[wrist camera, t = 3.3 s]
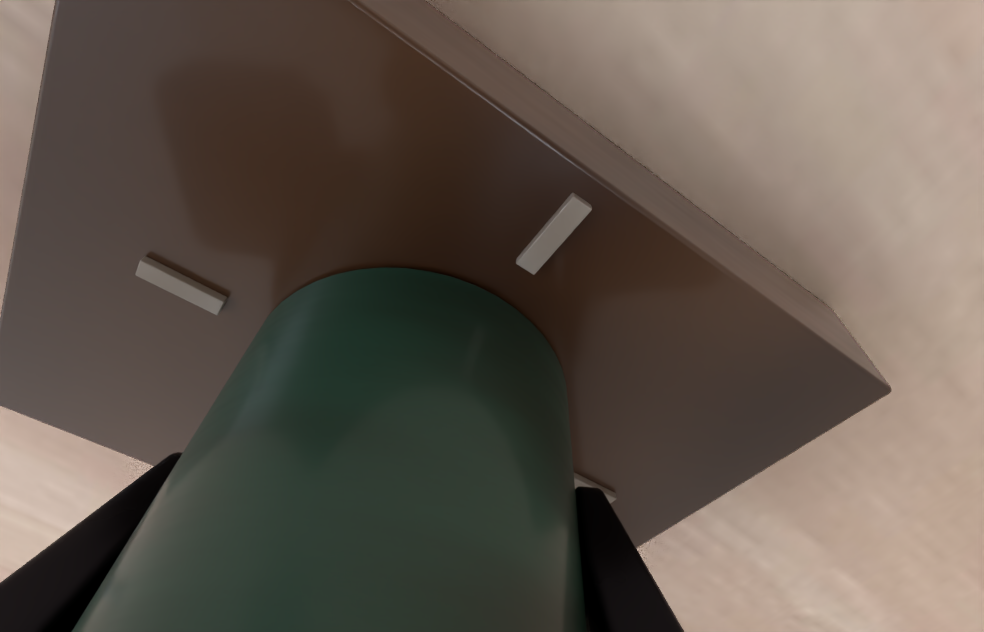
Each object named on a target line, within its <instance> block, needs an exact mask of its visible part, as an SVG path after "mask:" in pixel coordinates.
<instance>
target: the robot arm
mask: <svg viewBox="0 0 984 632" xmlns="http://www.w3.org/2000/svg"><path fill="white" fill-rule="evenodd" d="M182 453H183V452H176V453H173V454H171V455H169V456H167V457H166V458H165V459H163V460H162V461H161V462H159V463H158V464H157V465H155V466H154V467H153V468H151V469H150V470H149V471H147V472H146V473H145V474H143V475H142V476H141V477H139V478H138V479H137V480H136V481H134V482H133V483H132V484H130V485H129V486H128V487H126V488H125V489H124V490H122V491H121V492H120V493H118V494H117V495H116V496H114V497H113V498H112V499H110V500H109V501H108V502H106V503H105V504H104V505H103V506H101V507H100V508H99V509H97V510H96V511H95V512H93V513H92V514H91V515H89V516H88V517H87V518H85V519H84V520H83V521H81V522H80V523H79V524H77V525H76V526H75V527H73V528H72V529H71V530H69V531H68V532H67V533H66V534H64V535H63V536H62V537H60V538H59V539H58V540H56V541H55V542H54V543H52V544H51V545H50V546H48V547H47V548H46V549H44V550H43V551H42V552H40V553H39V554H38V555H36V556H35V557H34V558H33V559H31V560H30V561H29V562H27V563H26V564H25V565H23V566H22V567H21V568H19V569H18V570H17V571H15V572H14V573H13V574H11V575H10V576H9V577H7V578H6V579H5V580H3V581H2V582H1V583H0V632H72V630H73V629H74V627H75V625H76V624H77V622H78V620H79V619H80V617H81V616H82V614H83V612H84V611H85V609H86V608H87V606H88V604H89V603H90V601H91V600H92V598H93V596H94V595H95V593H96V592H97V590H98V588H99V587H100V585H101V583H102V582H103V580H104V579H105V577H106V575H107V574H108V572H109V571H110V569H111V567H112V566H113V564H114V563H115V561H116V559H117V558H118V556H119V555H120V553H121V551H122V550H123V548H124V546H125V545H126V543H127V542H128V540H129V538H130V537H131V535H132V534H133V532H134V530H135V529H136V527H137V526H138V524H139V522H140V521H141V519H142V518H143V516H144V514H145V513H146V511H147V509H148V508H149V506H150V505H151V503H152V501H153V500H154V498H155V497H156V495H157V493H158V492H159V490H160V489H161V487H162V485H163V484H164V482H165V481H166V479H167V477H168V476H169V474H170V472H171V471H172V469H173V468H174V466H175V464H176V463H177V461H178V460H179V458H180V456H181V455H182ZM575 495H576V507H577V519H578V531H579V543H580V555H581V567H582V579H583V591H584V603H585V615H586V627H587V632H684V630H683V629H682V627H681V625H680V624H679V622H678V620H677V618H676V617H675V615H674V613H673V611H672V610H671V608H670V606H669V605H668V603H667V601H666V599H665V598H664V596H663V594H662V592H661V591H660V589H659V587H658V585H657V584H656V582H655V580H654V579H653V577H652V575H651V573H650V572H649V570H648V568H647V566H646V565H645V563H644V561H643V560H642V558H641V556H640V554H639V553H638V551H637V549H636V547H635V546H634V544H633V542H632V541H631V539H630V537H629V535H628V534H627V532H626V530H625V528H624V527H623V525H622V523H621V521H620V520H619V518H618V516H617V515H616V513H615V511H614V509H613V508H612V506H611V504H610V502H609V501H608V499H607V497H606V496H605V494H604V492H603V491H602V490H601V489H599V488H595V487H583V486H578V487H577V488H576V489H575Z"/></svg>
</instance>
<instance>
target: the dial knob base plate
mask: <svg viewBox="0 0 984 632" xmlns="http://www.w3.org/2000/svg"><path fill="white" fill-rule="evenodd" d="M380 267H389V268H410V269H417V270H424V271H431V272H435V273H439V274H443V275H447V276H451V277H454V278H457V279H460V280H462V281H465V282H468V283H470V284H473V285H476V286H478V287H480V288H482V289H484V290H486V291H488V292H490V293H492V294H494V295H496V296H497V297H499V298H500V299H502V300H503V301H505V302H506V303H508V304H509V305H511V306H512V307H514V308H515V309H517V310H518V311H519V312H520V313H521V314H522V315H524V316H525V317H526V318H527V319H528V320H529V321H530V322H532V324H533V325H534V326H535V327H536V328H537V329H538V330H539V331H540V333H541V334H542V335H543V336H544V337H545V338H546V340H547V341H548V343H549V345H550V346H551V348H552V349H553V351H554V352H555V354H556V356H557V358H558V360H559V363H560V365H561V367H562V370H563V374H564V377H565V381H566V386H567V398H568V410H569V422H570V434H571V446H572V458H573V470H574V483H575V489H576V488H577V487H578V486H583V487H595V488H599V489H601V490H602V491H603V492H604V494H605V496H606V497H607V499H608V501H609V502H610V504H611V506H612V508H613V509H614V511H615V513H616V515H617V516H618V518H619V520H620V521H621V523H622V525H623V527H624V528H625V530H626V532H627V534H628V535H629V537H630V539H631V541H632V542H633V544H634V546H635V547H636V548H637V547H639V546H641V545H642V544H644V543H646V542H647V541H649V540H650V539H652V538H654V537H655V536H657V535H659V534H660V533H662V532H664V531H665V530H667V529H668V528H670V527H672V526H673V525H675V524H677V523H678V522H680V521H682V520H683V519H685V518H686V517H688V516H690V515H691V514H693V513H695V512H696V511H698V510H700V509H701V508H703V507H704V506H706V505H708V504H709V503H711V502H713V501H714V500H716V499H717V498H719V497H721V496H722V495H724V494H726V493H727V492H729V491H731V490H732V489H734V488H735V487H737V486H739V485H740V484H742V483H744V482H745V481H747V480H749V479H750V478H752V477H753V476H755V475H757V474H758V473H760V472H762V471H763V470H765V469H767V468H768V467H770V466H771V465H773V464H775V463H776V462H778V461H780V460H781V459H783V458H784V457H786V456H788V455H789V454H791V453H793V452H794V451H796V450H798V449H799V448H801V447H802V446H804V445H806V444H807V443H809V442H811V441H812V440H814V439H816V438H817V437H819V436H820V435H822V434H824V433H825V432H827V431H829V430H830V429H832V428H833V427H835V426H837V425H838V424H840V423H842V422H843V421H845V420H847V419H848V418H850V417H851V416H853V415H855V414H856V413H858V412H860V411H861V410H863V409H865V408H866V407H868V406H869V405H871V404H873V403H874V402H876V401H878V400H879V399H881V398H883V397H884V396H886V395H887V394H889V393H890V392H891V387H890V385H889V384H888V383H887V381H886V380H885V379H884V377H883V376H882V375H881V373H880V372H879V371H878V369H877V368H876V367H875V365H874V364H873V363H872V361H871V360H870V359H869V357H868V356H867V355H866V353H865V352H864V351H863V349H862V348H861V347H860V345H859V344H858V343H857V341H856V340H855V339H854V337H853V336H852V335H851V333H850V332H849V331H848V329H847V328H846V327H845V325H844V324H843V323H842V321H841V320H840V319H839V317H838V316H837V315H836V313H835V312H834V311H833V310H832V309H831V308H829V307H828V306H827V305H825V304H824V303H823V302H821V301H820V300H819V299H817V298H816V297H815V296H813V295H812V294H811V293H809V292H808V291H807V290H805V289H804V288H803V287H802V286H800V285H799V284H798V283H796V282H795V281H794V280H792V279H791V278H790V277H788V276H787V275H786V274H784V273H783V272H782V271H780V270H779V269H778V268H777V267H775V266H774V265H773V264H771V263H770V262H769V261H767V260H766V259H765V258H763V257H762V256H761V255H759V254H758V253H757V252H755V251H754V250H753V249H751V248H750V247H749V246H748V245H746V244H745V243H744V242H742V241H741V240H740V239H738V238H737V237H736V236H734V235H733V234H732V233H730V232H729V231H728V230H726V229H725V228H724V227H723V226H721V225H720V224H719V223H717V222H716V221H715V220H713V219H712V218H711V217H709V216H708V215H707V214H705V213H704V212H703V211H701V210H700V209H699V208H697V207H696V206H695V205H694V204H692V203H691V202H690V201H688V200H687V199H686V198H684V197H683V196H682V195H680V194H679V193H678V192H676V191H675V190H674V189H672V188H671V187H670V186H668V185H667V184H666V183H665V182H663V181H662V180H661V179H659V178H658V177H657V176H655V175H654V174H653V173H651V172H650V171H649V170H647V169H646V168H645V167H643V166H642V165H641V164H640V163H638V162H637V161H636V160H634V159H633V158H632V157H630V156H629V155H628V154H626V153H625V152H624V151H622V150H621V149H620V148H618V147H617V146H616V145H614V144H613V143H612V142H611V141H609V140H608V139H607V138H605V137H604V136H603V135H601V134H600V133H599V132H597V131H596V130H595V129H593V128H592V127H591V126H589V125H588V124H587V123H585V122H584V121H583V120H582V119H580V118H579V117H578V116H576V115H575V114H574V113H572V112H571V111H570V110H568V109H567V108H566V107H564V106H563V105H562V104H560V103H559V102H558V101H557V100H555V99H554V98H553V97H551V96H550V95H549V94H547V93H546V92H545V91H543V90H542V89H541V88H539V87H538V86H537V85H535V84H534V83H533V82H531V81H530V80H529V79H528V78H526V77H525V76H524V75H522V74H521V73H520V72H518V71H517V70H516V69H514V68H513V67H512V66H510V65H509V64H508V63H506V62H505V61H504V60H502V59H501V58H500V57H499V56H497V55H496V54H495V53H493V52H492V51H491V50H489V49H488V48H487V47H485V46H484V45H483V44H481V43H480V42H479V41H477V40H476V39H475V38H474V37H472V36H471V35H470V34H468V33H467V32H466V31H464V30H463V29H462V28H460V27H459V26H458V25H456V24H455V23H454V22H452V21H451V20H450V19H448V18H447V17H446V16H445V15H443V14H442V13H441V12H439V11H438V10H437V9H435V8H434V7H433V6H431V5H430V4H429V3H427V2H426V1H425V0H55V6H54V11H53V17H52V23H51V29H50V34H49V40H48V46H47V52H46V58H45V63H44V69H43V75H42V81H41V86H40V92H39V98H38V104H37V109H36V115H35V121H34V127H33V132H32V138H31V144H30V150H29V155H28V161H27V167H26V173H25V178H24V184H23V190H22V196H21V201H20V207H19V213H18V219H17V224H16V230H15V236H14V242H13V248H12V253H11V259H10V265H9V271H8V276H7V282H6V288H5V294H4V299H3V305H2V311H1V317H0V406H2V407H5V408H7V409H10V410H13V411H15V412H18V413H20V414H23V415H25V416H28V417H30V418H33V419H35V420H38V421H41V422H43V423H46V424H48V425H51V426H53V427H56V428H58V429H61V430H64V431H66V432H69V433H71V434H74V435H76V436H79V437H81V438H84V439H86V440H89V441H92V442H94V443H97V444H99V445H102V446H104V447H107V448H109V449H112V450H114V451H117V452H120V453H122V454H125V455H127V456H130V457H132V458H135V459H137V460H140V461H143V462H145V463H148V464H150V465H153V466H155V465H157V464H158V463H159V462H161V461H162V460H163V459H165V458H166V457H167V456H169V455H171V454H173V453H176V452H184V450H185V448H186V447H187V445H188V444H189V442H190V440H191V439H192V437H193V435H194V434H195V432H196V431H197V429H198V427H199V426H200V424H201V423H202V421H203V419H204V418H205V416H206V415H207V413H208V411H209V410H210V408H211V407H212V405H213V403H214V402H215V400H216V398H217V397H218V395H219V394H220V392H221V390H222V389H223V387H224V386H225V384H226V382H227V381H228V379H229V378H230V376H231V374H232V373H233V371H234V370H235V368H236V366H237V365H238V363H239V361H240V360H241V358H242V357H243V355H244V353H245V352H246V350H247V349H248V347H249V345H250V344H251V342H252V341H253V339H254V337H255V336H256V334H257V333H258V331H259V329H260V328H261V326H262V325H263V323H264V322H265V320H266V319H267V317H268V316H269V314H270V313H271V312H272V311H273V310H274V309H275V308H276V307H277V306H278V305H279V304H280V303H281V302H282V301H284V300H285V299H286V298H288V297H289V296H291V295H292V294H293V293H295V292H296V291H298V290H300V289H302V288H304V287H305V286H307V285H309V284H311V283H313V282H315V281H318V280H321V279H324V278H326V277H329V276H332V275H335V274H339V273H344V272H348V271H353V270H358V269H368V268H380Z"/></svg>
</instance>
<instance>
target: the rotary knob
mask: <svg viewBox="0 0 984 632" xmlns="http://www.w3.org/2000/svg"><path fill="white" fill-rule="evenodd" d="M72 632H587V627H586V615H585V603H584V591H583V579H582V567H581V555H580V543H579V531H578V519H577V507H576V495H575V483H574V470H573V458H572V446H571V434H570V422H569V410H568V398H567V386H566V381H565V377H564V374H563V370H562V367H561V365H560V363H559V360H558V358H557V356H556V354H555V352H554V351H553V349H552V348H551V346H550V345H549V343H548V341H547V340H546V338H545V337H544V336H543V335H542V334H541V333H540V331H539V330H538V329H537V328H536V327H535V326H534V325H533V324H532V322H530V321H529V320H528V319H527V318H526V317H525V316H524V315H522V314H521V313H520V312H519V311H518V310H517V309H515V308H514V307H512V306H511V305H509V304H508V303H506V302H505V301H503V300H502V299H500V298H499V297H497V296H496V295H494V294H492V293H490V292H488V291H486V290H484V289H482V288H480V287H478V286H476V285H473V284H470V283H468V282H465V281H462V280H460V279H457V278H454V277H451V276H447V275H443V274H439V273H435V272H431V271H424V270H417V269H410V268H389V267H380V268H368V269H358V270H353V271H348V272H344V273H339V274H335V275H332V276H329V277H326V278H324V279H321V280H318V281H315V282H313V283H311V284H309V285H307V286H305V287H304V288H302V289H300V290H298V291H296V292H295V293H293V294H292V295H291V296H289V297H288V298H286V299H285V300H284V301H282V302H281V303H280V304H279V305H278V306H277V307H276V308H275V309H274V310H273V311H272V312H271V313H270V314H269V316H268V317H267V319H266V320H265V322H264V323H263V325H262V326H261V328H260V329H259V331H258V333H257V334H256V336H255V337H254V339H253V341H252V342H251V344H250V345H249V347H248V349H247V350H246V352H245V353H244V355H243V357H242V358H241V360H240V361H239V363H238V365H237V366H236V368H235V370H234V371H233V373H232V374H231V376H230V378H229V379H228V381H227V382H226V384H225V386H224V387H223V389H222V390H221V392H220V394H219V395H218V397H217V398H216V400H215V402H214V403H213V405H212V407H211V408H210V410H209V411H208V413H207V415H206V416H205V418H204V419H203V421H202V423H201V424H200V426H199V427H198V429H197V431H196V432H195V434H194V435H193V437H192V439H191V440H190V442H189V444H188V445H187V447H186V448H185V450H184V452H183V453H182V455H181V456H180V458H179V460H178V461H177V463H176V464H175V466H174V468H173V469H172V471H171V472H170V474H169V476H168V477H167V479H166V481H165V482H164V484H163V485H162V487H161V489H160V490H159V492H158V493H157V495H156V497H155V498H154V500H153V501H152V503H151V505H150V506H149V508H148V509H147V511H146V513H145V514H144V516H143V518H142V519H141V521H140V522H139V524H138V526H137V527H136V529H135V530H134V532H133V534H132V535H131V537H130V538H129V540H128V542H127V543H126V545H125V546H124V548H123V550H122V551H121V553H120V555H119V556H118V558H117V559H116V561H115V563H114V564H113V566H112V567H111V569H110V571H109V572H108V574H107V575H106V577H105V579H104V580H103V582H102V583H101V585H100V587H99V588H98V590H97V592H96V593H95V595H94V596H93V598H92V600H91V601H90V603H89V604H88V606H87V608H86V609H85V611H84V612H83V614H82V616H81V617H80V619H79V620H78V622H77V624H76V625H75V627H74V629H73V630H72Z"/></svg>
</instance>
